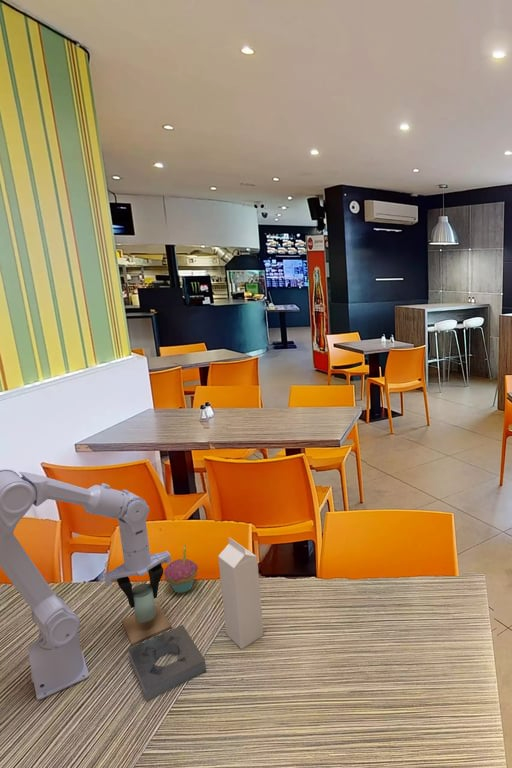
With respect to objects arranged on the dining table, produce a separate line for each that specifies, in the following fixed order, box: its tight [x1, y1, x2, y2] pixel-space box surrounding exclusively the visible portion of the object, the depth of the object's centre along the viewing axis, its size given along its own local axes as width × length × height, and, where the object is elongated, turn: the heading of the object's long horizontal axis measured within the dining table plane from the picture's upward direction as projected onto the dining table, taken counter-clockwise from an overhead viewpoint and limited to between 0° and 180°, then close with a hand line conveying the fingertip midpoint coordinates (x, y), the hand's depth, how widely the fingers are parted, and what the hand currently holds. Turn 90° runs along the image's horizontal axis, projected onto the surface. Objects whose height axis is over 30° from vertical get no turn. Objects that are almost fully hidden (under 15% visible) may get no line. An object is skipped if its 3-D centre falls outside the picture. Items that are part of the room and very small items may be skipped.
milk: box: [217, 537, 264, 650], centre depth 95 cm, size 6×6×22 cm
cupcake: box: [163, 544, 199, 594], centre depth 114 cm, size 9×8×12 cm
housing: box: [127, 624, 207, 702], centre depth 91 cm, size 12×12×2 cm
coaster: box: [120, 604, 173, 647], centre depth 103 cm, size 9×9×1 cm
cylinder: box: [132, 583, 156, 623], centre depth 101 cm, size 5×5×6 cm
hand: (143, 600), depth 102 cm, fingers closed on cylinder, 5 cm apart
